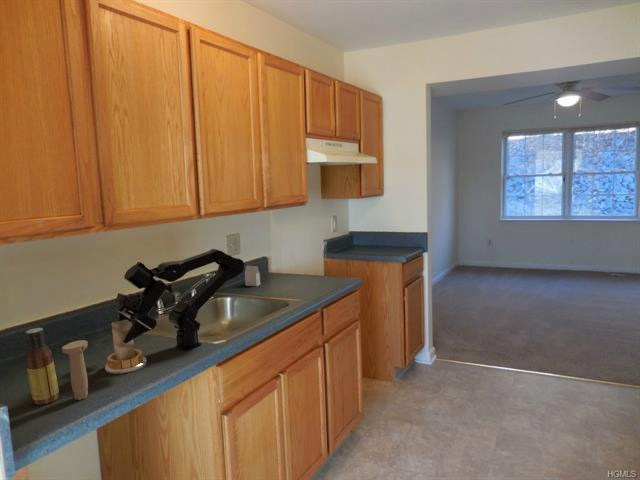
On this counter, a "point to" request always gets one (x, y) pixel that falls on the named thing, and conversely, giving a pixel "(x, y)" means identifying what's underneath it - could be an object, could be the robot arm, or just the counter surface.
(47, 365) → the sauce bottle
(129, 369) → the segmented gold bowl
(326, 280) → the counter surface
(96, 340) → the counter surface
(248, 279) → the small carton
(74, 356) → the handle
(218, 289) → the robot arm
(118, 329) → the post
